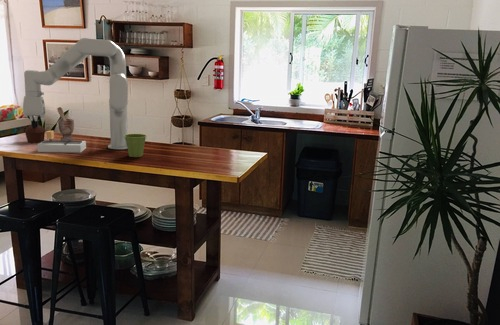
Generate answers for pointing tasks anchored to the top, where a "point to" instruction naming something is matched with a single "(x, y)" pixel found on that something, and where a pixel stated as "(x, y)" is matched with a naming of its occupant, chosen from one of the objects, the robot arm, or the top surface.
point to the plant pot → (135, 144)
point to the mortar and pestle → (65, 126)
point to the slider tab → (50, 135)
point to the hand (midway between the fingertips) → (35, 128)
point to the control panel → (61, 146)
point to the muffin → (35, 134)
